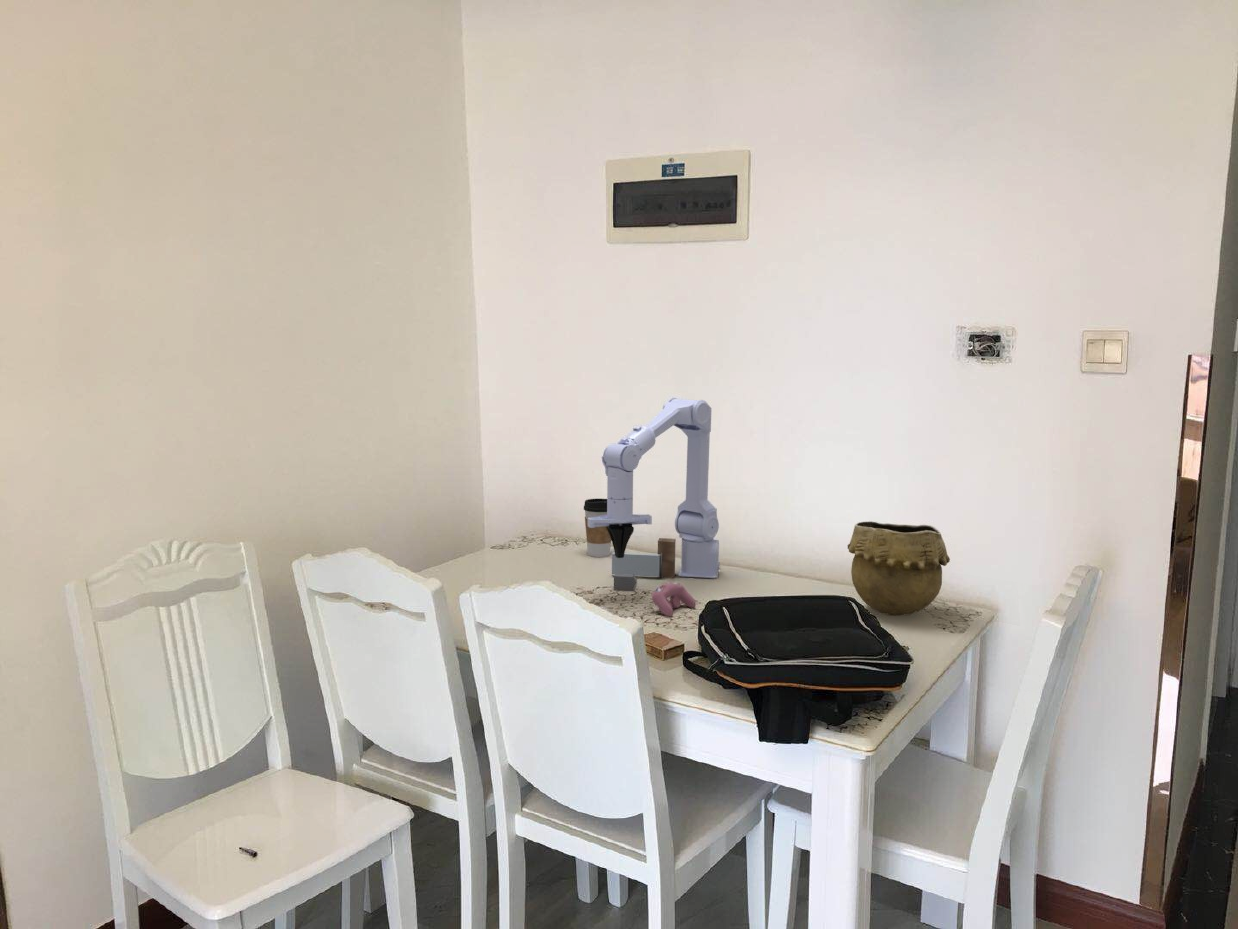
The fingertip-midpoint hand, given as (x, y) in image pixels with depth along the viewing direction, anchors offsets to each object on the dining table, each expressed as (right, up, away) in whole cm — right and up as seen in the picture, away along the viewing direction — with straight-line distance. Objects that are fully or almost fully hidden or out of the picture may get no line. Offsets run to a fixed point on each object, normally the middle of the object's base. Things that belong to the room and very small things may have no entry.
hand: (619, 557), depth 216 cm
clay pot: (+60, -12, -8) cm, 61 cm away
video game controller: (+12, -11, -8) cm, 18 cm away
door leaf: (+4, -6, +19) cm, 20 cm away
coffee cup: (-5, -4, +41) cm, 42 cm away
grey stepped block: (+1, -8, +11) cm, 14 cm away
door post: (+12, -7, +20) cm, 24 cm away
